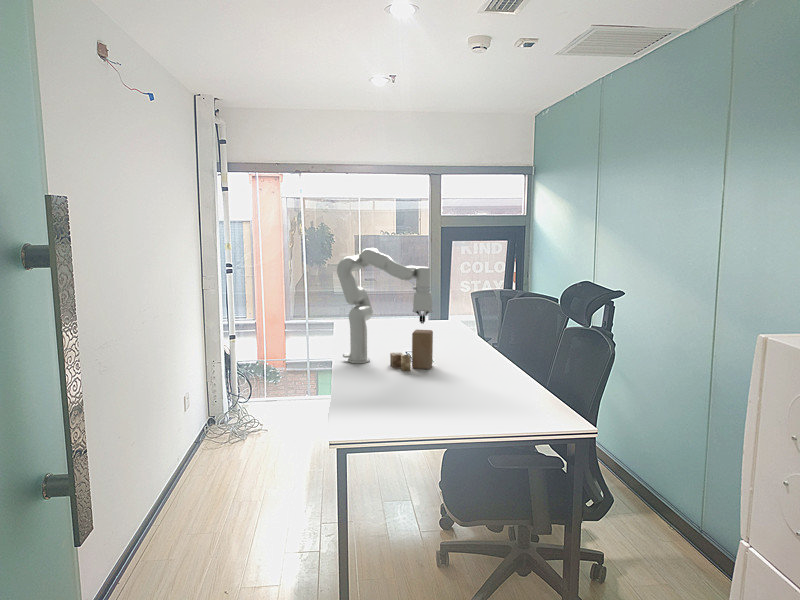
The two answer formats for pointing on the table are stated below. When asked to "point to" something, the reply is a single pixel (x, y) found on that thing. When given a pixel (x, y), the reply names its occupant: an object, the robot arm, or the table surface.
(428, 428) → the table surface
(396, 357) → the walnut block
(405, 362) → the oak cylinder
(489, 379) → the table surface
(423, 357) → the block
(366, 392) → the table surface
